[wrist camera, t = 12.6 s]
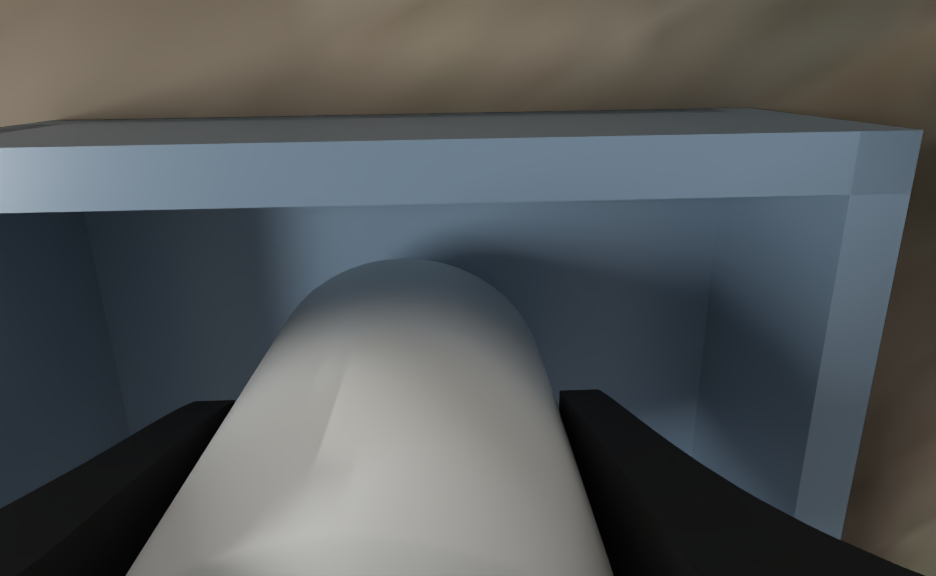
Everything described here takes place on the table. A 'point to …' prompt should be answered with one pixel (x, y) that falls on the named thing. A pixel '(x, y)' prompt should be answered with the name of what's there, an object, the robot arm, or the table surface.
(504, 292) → the tote
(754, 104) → the table surface
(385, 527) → the white egg shape
